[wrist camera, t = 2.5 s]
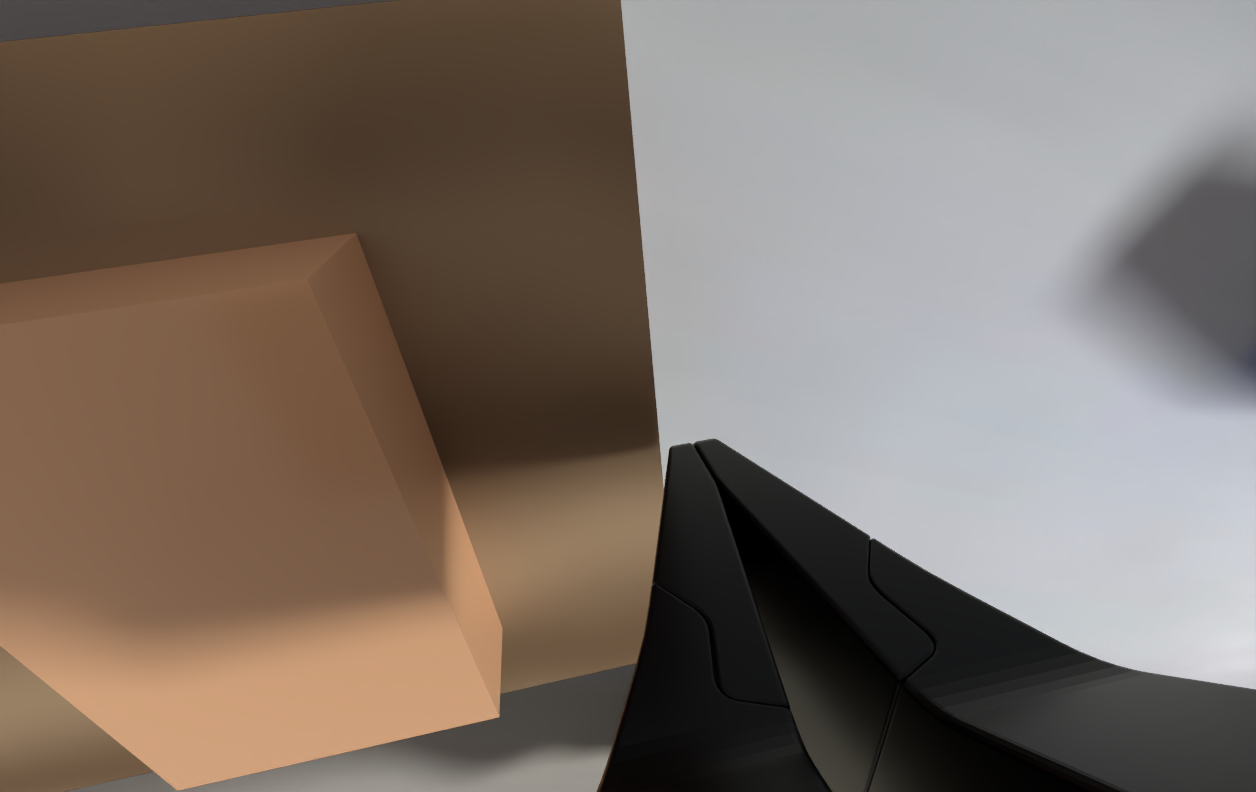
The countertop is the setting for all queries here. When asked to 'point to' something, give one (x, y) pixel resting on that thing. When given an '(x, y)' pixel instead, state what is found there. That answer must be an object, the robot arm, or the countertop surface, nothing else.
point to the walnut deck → (385, 270)
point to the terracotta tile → (233, 514)
